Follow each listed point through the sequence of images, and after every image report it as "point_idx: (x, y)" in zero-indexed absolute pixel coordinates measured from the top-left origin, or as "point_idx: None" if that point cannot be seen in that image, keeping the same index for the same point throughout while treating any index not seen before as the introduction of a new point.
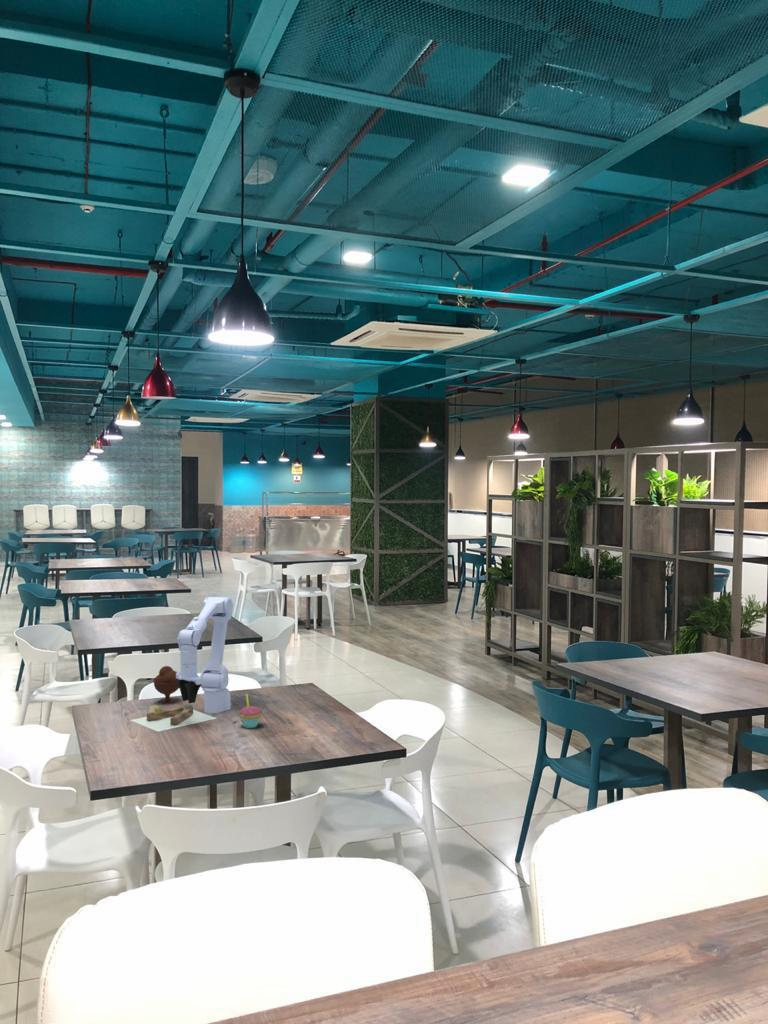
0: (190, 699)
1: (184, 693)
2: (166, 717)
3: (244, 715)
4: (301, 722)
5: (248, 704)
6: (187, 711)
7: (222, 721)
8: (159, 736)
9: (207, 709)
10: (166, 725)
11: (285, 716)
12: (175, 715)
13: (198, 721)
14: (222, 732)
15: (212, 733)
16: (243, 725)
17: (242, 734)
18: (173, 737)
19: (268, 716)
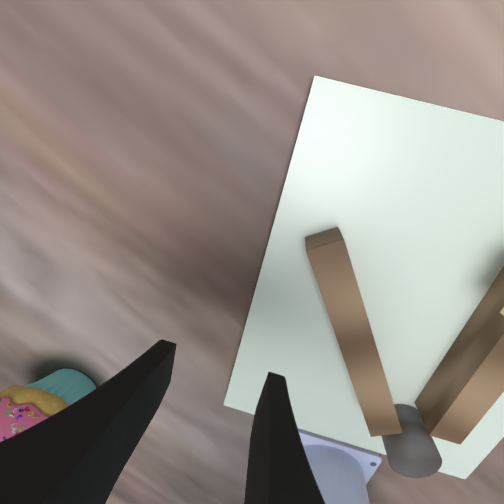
0: (138, 364)
1: (261, 448)
2: (467, 324)
3: (4, 397)
4: None
5: None
6: (355, 391)
7: (205, 398)
8: (271, 53)
9: (324, 465)
10: (358, 211)
11: None
12: (362, 304)
13: (256, 342)
14: (79, 286)
15: (96, 256)
16: (83, 378)
17: (4, 300)
18: (184, 93)
19: (127, 482)
